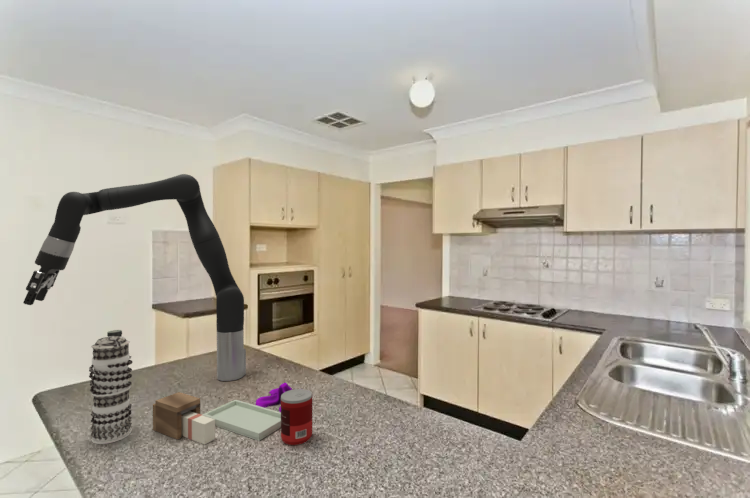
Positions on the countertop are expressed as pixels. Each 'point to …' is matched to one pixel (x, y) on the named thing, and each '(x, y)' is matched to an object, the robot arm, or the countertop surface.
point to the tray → (246, 419)
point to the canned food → (296, 416)
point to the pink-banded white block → (198, 427)
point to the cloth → (273, 397)
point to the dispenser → (173, 413)
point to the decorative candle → (110, 390)
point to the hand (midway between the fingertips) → (33, 302)
